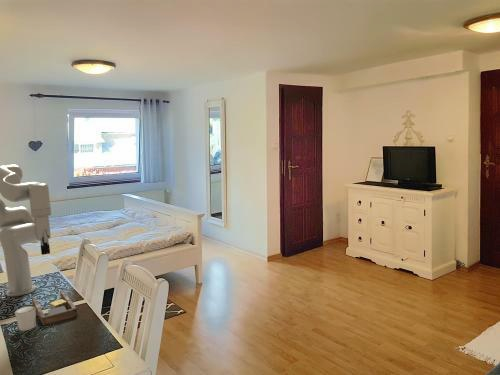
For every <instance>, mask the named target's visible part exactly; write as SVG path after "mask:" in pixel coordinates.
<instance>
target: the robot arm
mask: <svg viewBox="0 0 500 375" xmlns="http://www.w3.org/2000/svg"><path fill="white" fill-rule="evenodd" d="M22 178H23V170H22V168H21V167H20V166H19V165H18V164H13V163H12V164H3V165H0V195H1V196H2V197H3V199H5V200H7V201H9V202H15V203H17V202H18V203H19V202H24V201H29V204H30V210H28V208H26V207H25V206H14V207H8V206H7V205H6V204H5V202H4V201H3V200H2V199H0V230H1V231H0V245H1V247H2V251H3V256H4V262H5V268H6V269H5V270H6V276H7V283H8V289H7V290H6V291H5V295H6V296H7V297H19V296H25V295H27V294H30V293H33V292H34V291H36V289H37V285H36V284H33V282H32V280H33V279H32V274H31V267H30V259H29V253H28V251H27V250H26V249H25V248H24V247H23V246H24V245H26V244H30V243H34V242H36V241H40V254H41V255H43V256H44V255H49V254H51V248H50V247H51V246H50V242H49V240H50V239H51V225H50V216H52V209H51V200H50V191H49V190H50V189H49V185H48V184H47V183H46V182H45V183H44V182H41V183H40V182H38V181H29V182H21V181H22Z"/></svg>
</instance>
